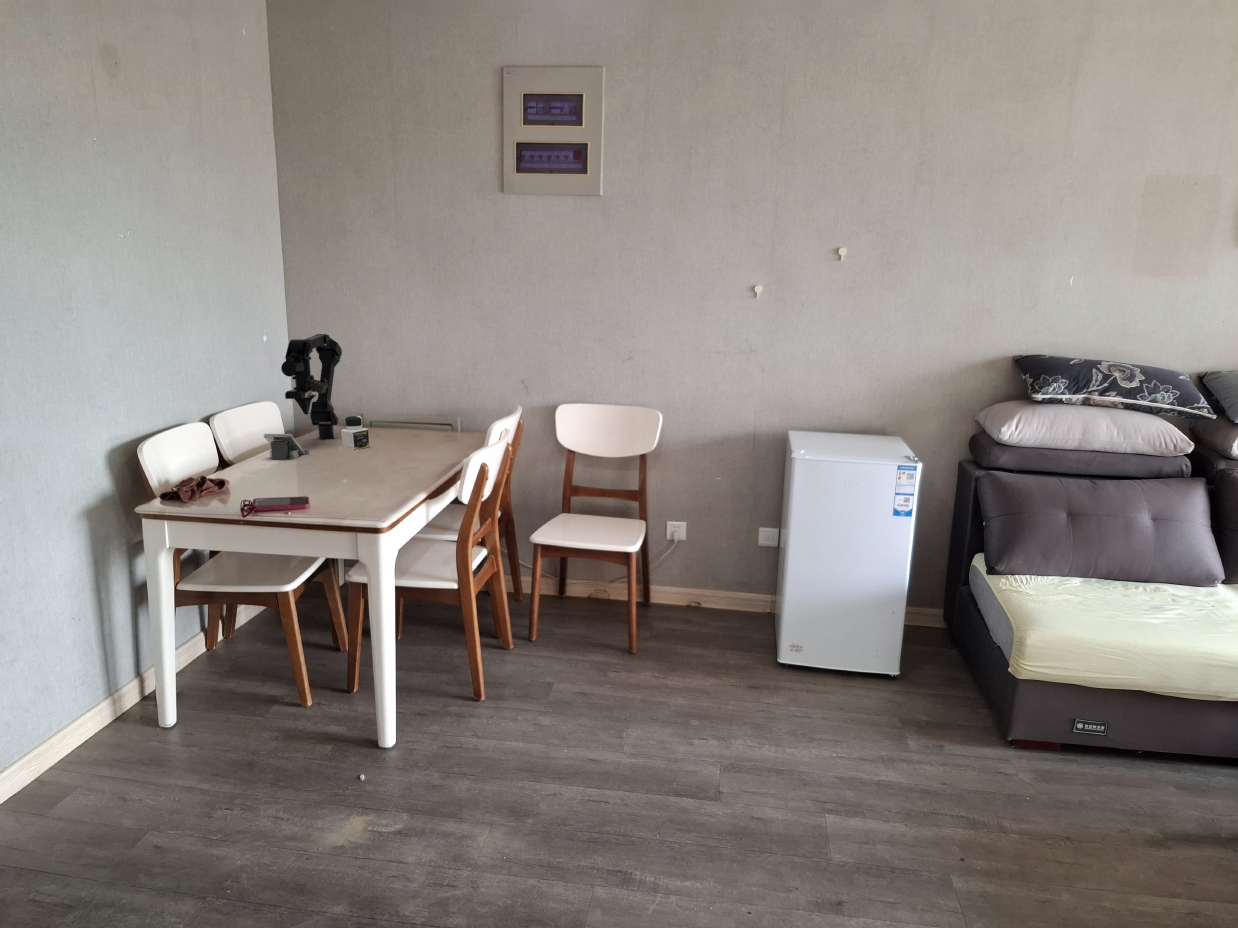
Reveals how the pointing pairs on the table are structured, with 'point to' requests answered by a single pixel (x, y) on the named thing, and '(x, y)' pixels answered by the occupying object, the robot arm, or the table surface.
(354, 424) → the medicine bottle
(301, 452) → the gray rectangular panel
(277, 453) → the heat sink
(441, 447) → the table surface
